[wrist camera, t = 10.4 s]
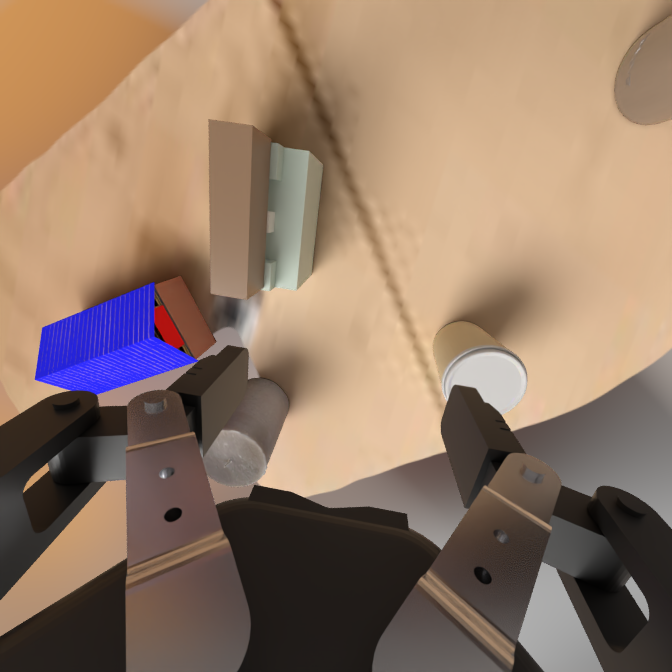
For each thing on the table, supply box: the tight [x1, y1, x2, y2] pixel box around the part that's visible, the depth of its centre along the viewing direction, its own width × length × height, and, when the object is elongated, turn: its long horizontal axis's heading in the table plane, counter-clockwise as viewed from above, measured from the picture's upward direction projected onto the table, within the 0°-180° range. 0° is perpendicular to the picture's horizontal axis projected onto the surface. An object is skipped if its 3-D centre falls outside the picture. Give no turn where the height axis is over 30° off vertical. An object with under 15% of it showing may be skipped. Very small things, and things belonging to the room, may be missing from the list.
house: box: [35, 276, 217, 395], centre depth 46 cm, size 12×20×12 cm, turn 111°
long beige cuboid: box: [209, 119, 271, 300], centre depth 29 cm, size 4×14×5 cm, turn 172°
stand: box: [261, 142, 323, 291], centre depth 37 cm, size 10×14×12 cm
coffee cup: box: [433, 321, 527, 415], centre depth 41 cm, size 9×9×12 cm
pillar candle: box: [202, 378, 289, 487], centre depth 47 cm, size 10×10×15 cm
